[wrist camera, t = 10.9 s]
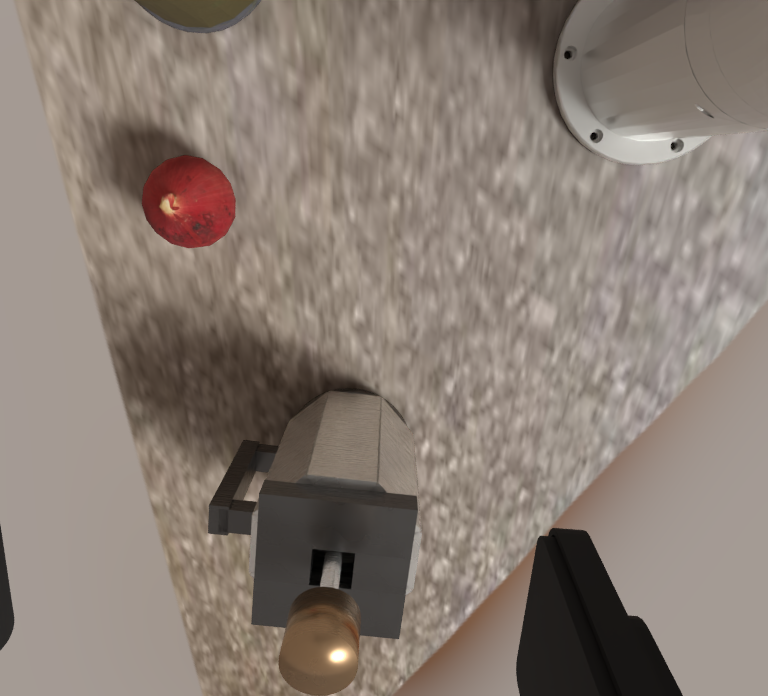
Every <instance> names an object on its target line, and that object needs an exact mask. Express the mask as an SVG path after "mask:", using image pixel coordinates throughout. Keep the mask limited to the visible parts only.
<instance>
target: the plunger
mask: <svg viewBox="0 0 768 696" xmlns="http://www.w3.org/2000/svg"><path fill="white" fill-rule="evenodd" d="M342 556H343V552H338V551H328V550H326V553H325V559H324V565H323V571H322V577H321V583H320V587H315V588H311V589H309V590H306V591H304V592H303V593H301V594H300V595H299V596H298V597H297V598H296V599H295V600H294V601H293V603H292V605H291V607H290V611H289V615H288V620H287V624H286V629H285V633H284V638H283V642H282V646H281V651H280V655H279V669H280V672H281V674H282V676H283V678H284V679H285V681H286V682H287V683H288V684H289V685H290V686H292V687H293V688H295V689H296V690H298V691H300V692H303V693H306V694H310V695H318V696H322V695H330V694H334V693H337V692H339V691H341V690H343V689H344V688H346V687H347V686H348V685H349V684H350V683H351V682H352V681H353V679H354V678H355V676H356V673H357V669H358V655H359V640H360V624H361V613H360V609H359V607H358V605H357V603H356V602H355V600H354V599H353V598H352V597H351V596H350V595H348V594H347V593H345V592H343V591H342V590H339V581H340V573H341V564H342Z"/></svg>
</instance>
